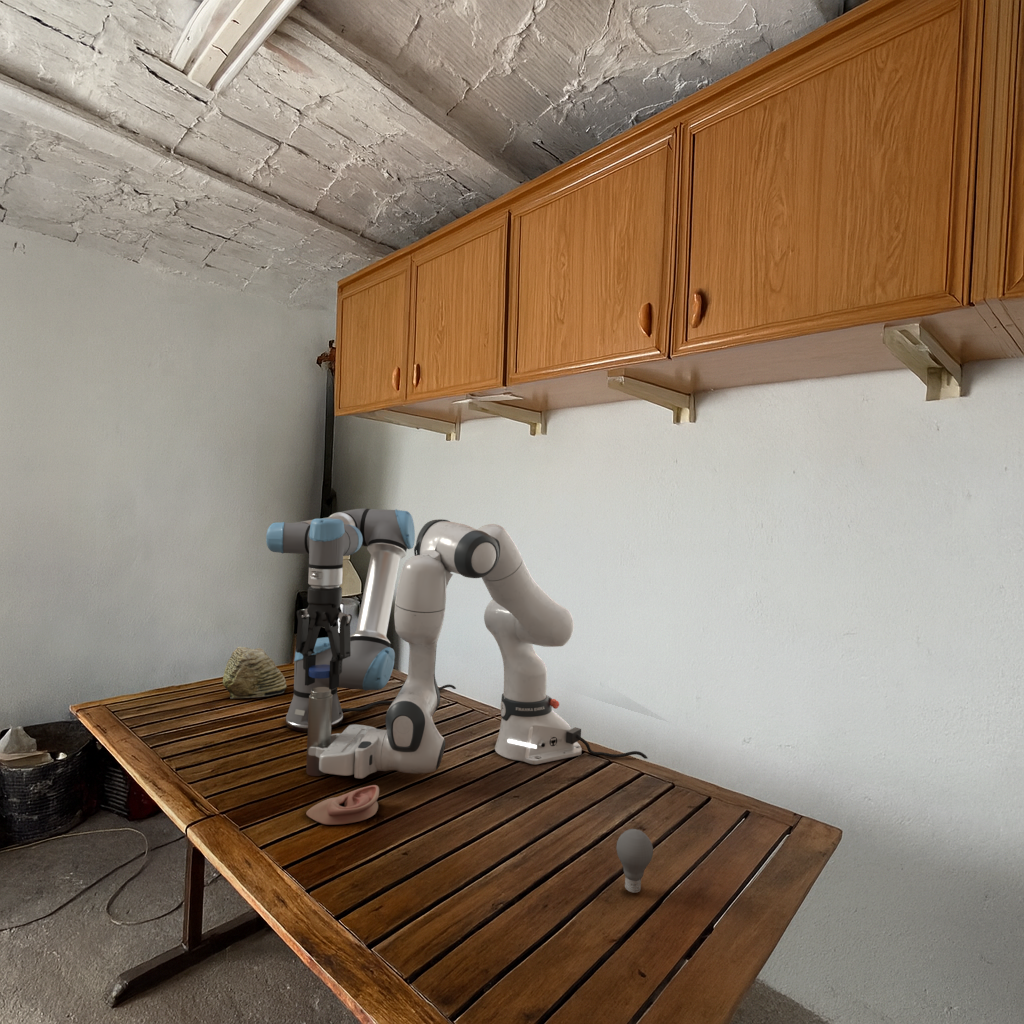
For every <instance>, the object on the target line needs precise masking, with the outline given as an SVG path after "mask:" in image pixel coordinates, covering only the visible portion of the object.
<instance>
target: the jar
mask: <svg viewBox="0 0 1024 1024" xmlns="http://www.w3.org/2000/svg"><path fill="white" fill-rule="evenodd" d="M332 696H333V695H332V694H331V690H330V689H329V688H328V687H317V688H313V689H312V690H311V695H309V713H308V732H307V740H306V764H305V765H306V766H305V767H306V768H305V769H306V771H305V772H306V775H308V776H311V777H321V776H325V775H327V773H323V772H322V771H320V770H319V758H318V757H316V756H310V755H309V754H308V749H309V748H310V747H311V746H312V745H314V746H319V748H328V747H329V746H330V745H331V744H332V743H331V735H332V729H331V722H332Z"/></svg>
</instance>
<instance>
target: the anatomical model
mask: <svg viewBox="0 0 1024 1024" xmlns="http://www.w3.org/2000/svg"><path fill="white" fill-rule="evenodd" d="M379 795H380V787H379V786H378V785H376V784H372V785H367V786H364V787H360V788H356V789H354V790H352V791H349V792H347V793H344V794H341V795H339V796H335V797H330V798H327V799H325V800H322V801H320V802H318V803H316V804H315V805H312V806H311V807H310V808H309V809H308V810H306V812H305V813H306V816H307V817H308V818H309V819H311V820H313V821H315V822H317V823H319V824H321V825H327V826H333V825H346V824H353V823H357V822H362V821H365V820H367V819H369V818H372V817H373V816H374V815H376V814H377V811H378V810H379V803H378V799H379Z"/></svg>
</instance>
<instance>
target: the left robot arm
mask: <svg viewBox="0 0 1024 1024" xmlns="http://www.w3.org/2000/svg"><path fill="white" fill-rule="evenodd" d="M415 530H416V529H415V522H414V519H413V516H412V514H411V512H409V511H408V510H403V509H402V510H400V509H397V508H395V509H382V508H381V509H380V508H353V509H348V510H344V511H338V512H334V513H332V514H330V515H329V516H328V517H323V518H314V519H308V520H303V521H295V522H285V521H281V522H273V523H271V524H269V526H268V528H267V530H266V535H265V537H266V540H265V542H266V547H267V548H268V550H269V551H271V552H273V553H281V554H297V555H299V554H301V555H308V557H309V558H308V578H307V579H308V580H307V581H308V582H307V583H308V585H309V586H308V588H307V603H308V606H307V607H306V608H302V609H298V610H296V617H297V627H296V628H297V631H296V632H297V633H296V640H295V641H296V643H295V654H294V659H293V661H294V672H293V695H292V696H293V697H292V699H291V702H290V704H289V708H288V711H287V713H286V715H285V726H286V728H287V729H289V730H291V731H294V732H295V731H296V732H301V733H308V713H309V695H311V690H312V689H313V688H317V687H328V688H329V689H330V690H331V694H332V695H333V696H332V722H331V730H332V729H335V728H337V727H339V726H340V725H342V723H343V722H344V713H343V712H362V711H365V710H367V709H369V708H371V707H374V706H377V705H379V706H380V705H388V704H389V705H391V704H392V702H393V701H394V700H380V701H374V702H371V703H369V704H367V705H365V706H362V707H356V708H355V707H346V708H344V707H343V708H342V706H341V702H340V699H339V695H338V689H352V690H362V691H363V690H364V691H380V690H382V689H384V688H385V687H386V686H387V684H388V683H389V681H390V680H391V679H390V678H391V677H392V674H393V671H394V666H395V658H396V653H395V650H394V648H392V647H391V641H390V640H389V639H388V637H387V634H388V629H389V622H390V617H391V611H392V606H393V601H394V594H395V588H396V583H397V578H398V571H399V567H400V561H401V560H402V559H404V558H405V557H406V555H407V551H408V550H412V549H413V548H414V547H415V543H416V539H415V538H416V531H415ZM361 547H366V549H367V552H368V553H369V554H370V557H369V562H368V563H369V564H368V569H367V574H366V579H365V584H364V587H363V588H364V589H363V594H362V598H361V604H360V609H359V613H358V618H357V624H356V629H355V632H354V633H353V634H351V623H352V620H353V615H352V613H349V614H347V613H345V612H343V610H342V608H341V603H342V601H343V599H342V598H343V587H342V586H341V585H343V575H344V574H343V571H344V566H343V565H344V557H347V556H349V557H350V556H352V555H353V554H355V553H357V552H358V551H359V550H360V549H361ZM322 628H324V631H325V632H326V633H327V636H325V637H319V634H320V630H321V629H322ZM315 665H330V673H329V678H323V679H318V678H312V677H310V676H309V668H310V667H311V666H315ZM447 688H452V690H456V689H457V687H456V686H455V685H453V684H444V685H443V686H440V687H438V689H439V692H440V691H442V690H444V689H447Z"/></svg>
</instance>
